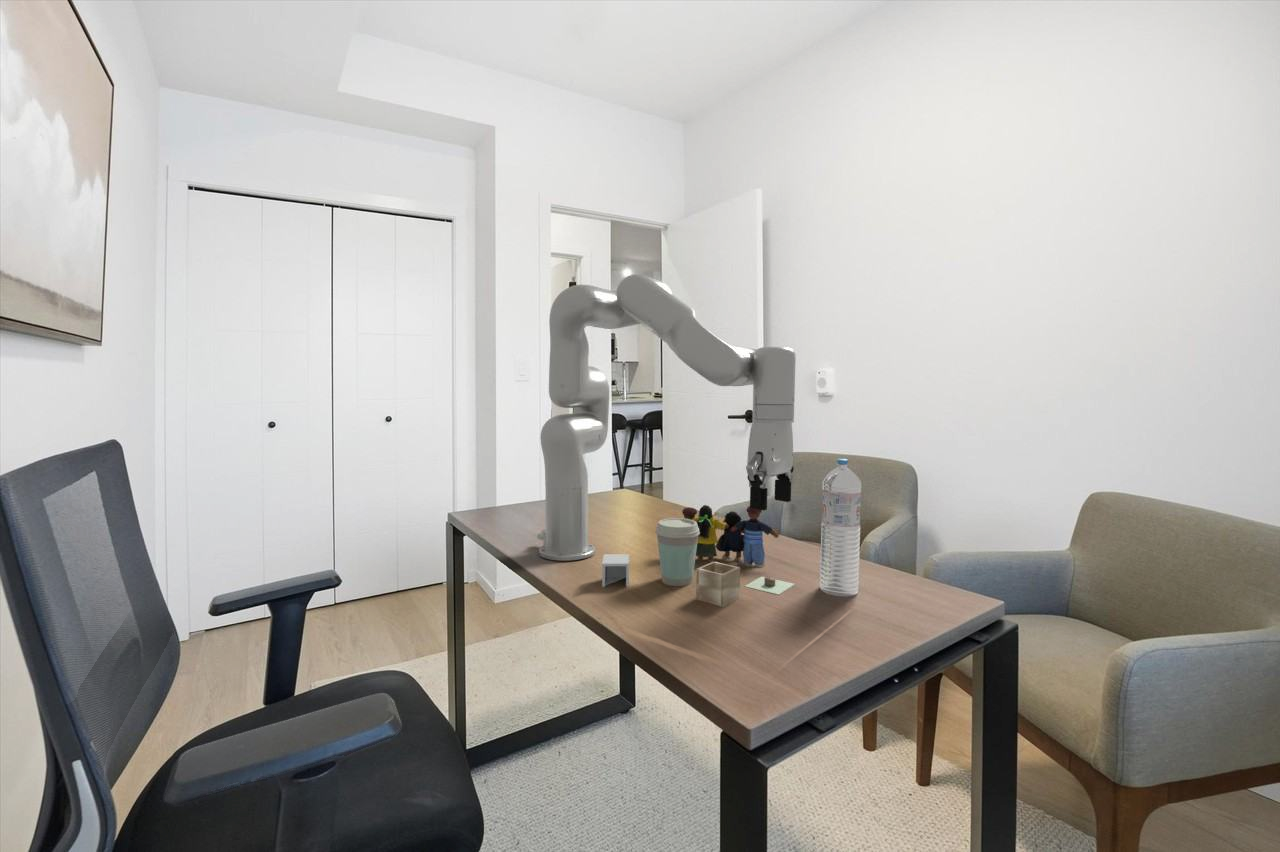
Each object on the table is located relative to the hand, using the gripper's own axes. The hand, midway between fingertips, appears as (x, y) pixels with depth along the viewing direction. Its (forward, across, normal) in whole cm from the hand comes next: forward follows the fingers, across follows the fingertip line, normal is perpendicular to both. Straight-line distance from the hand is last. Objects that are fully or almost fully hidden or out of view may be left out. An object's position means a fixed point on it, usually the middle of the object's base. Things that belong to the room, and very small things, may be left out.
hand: (770, 504), depth 112 cm
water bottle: (+16, -6, +11) cm, 21 cm away
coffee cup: (+16, +9, -15) cm, 24 cm away
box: (+16, +12, -4) cm, 20 cm away
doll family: (+16, -9, -16) cm, 24 cm away
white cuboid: (+16, +17, -24) cm, 33 cm away
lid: (+17, 0, 0) cm, 17 cm away
